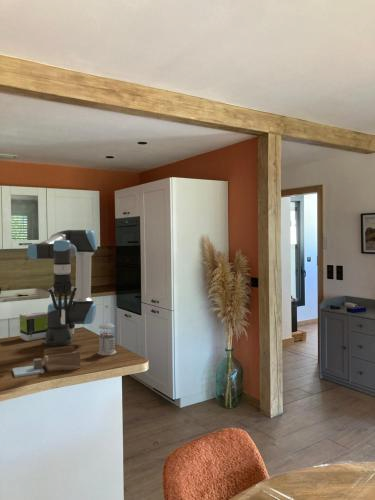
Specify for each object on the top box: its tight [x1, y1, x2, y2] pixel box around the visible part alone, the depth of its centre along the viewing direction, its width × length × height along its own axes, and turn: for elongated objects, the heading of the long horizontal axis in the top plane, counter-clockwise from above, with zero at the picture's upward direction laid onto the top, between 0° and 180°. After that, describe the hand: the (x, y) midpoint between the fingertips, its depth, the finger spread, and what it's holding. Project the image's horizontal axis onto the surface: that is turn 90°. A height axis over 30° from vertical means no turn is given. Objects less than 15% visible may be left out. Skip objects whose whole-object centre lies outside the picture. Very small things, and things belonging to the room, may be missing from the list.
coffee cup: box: [69, 324, 76, 336], centre depth 256 cm, size 10×10×15 cm
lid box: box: [43, 345, 81, 373], centre depth 192 cm, size 12×14×8 cm
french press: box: [97, 304, 117, 356], centre depth 215 cm, size 10×12×25 cm
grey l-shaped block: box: [12, 357, 45, 378], centre depth 184 cm, size 10×12×6 cm
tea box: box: [19, 310, 48, 342], centre depth 247 cm, size 15×10×15 cm
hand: (62, 323), depth 193 cm, fingers closed
